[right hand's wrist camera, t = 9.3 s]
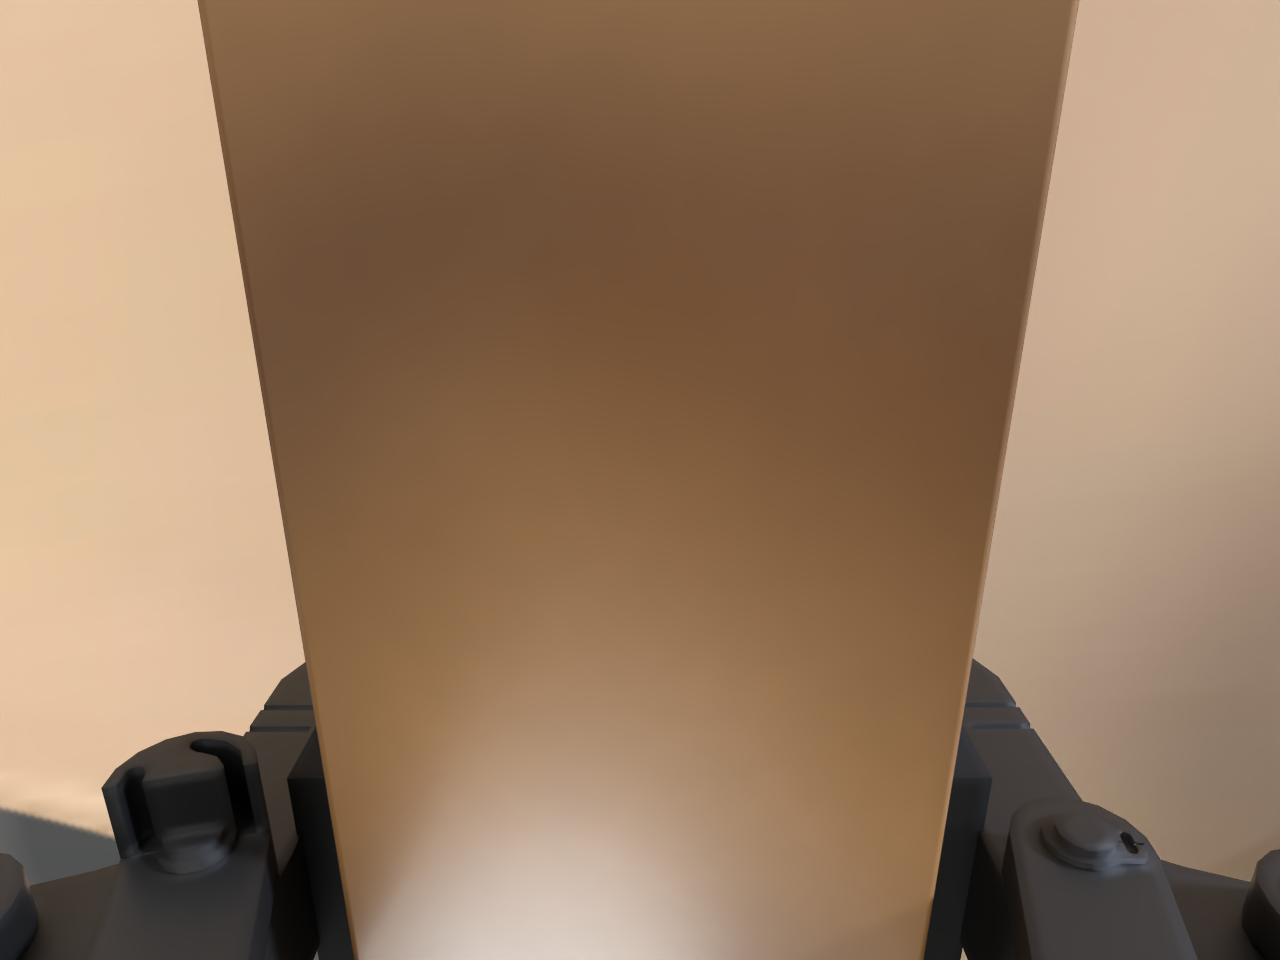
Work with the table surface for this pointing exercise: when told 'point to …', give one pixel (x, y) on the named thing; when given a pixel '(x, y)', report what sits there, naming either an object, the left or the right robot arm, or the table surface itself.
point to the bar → (638, 445)
